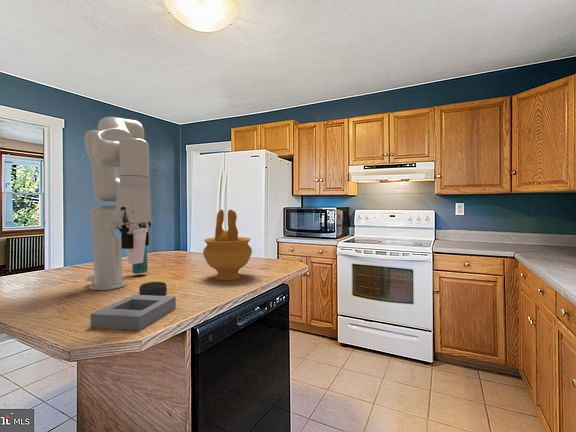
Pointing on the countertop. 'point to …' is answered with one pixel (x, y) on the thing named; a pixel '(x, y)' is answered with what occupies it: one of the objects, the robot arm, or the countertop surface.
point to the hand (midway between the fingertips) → (135, 246)
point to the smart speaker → (153, 289)
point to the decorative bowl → (227, 248)
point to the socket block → (133, 312)
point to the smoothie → (137, 246)
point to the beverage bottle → (141, 265)
